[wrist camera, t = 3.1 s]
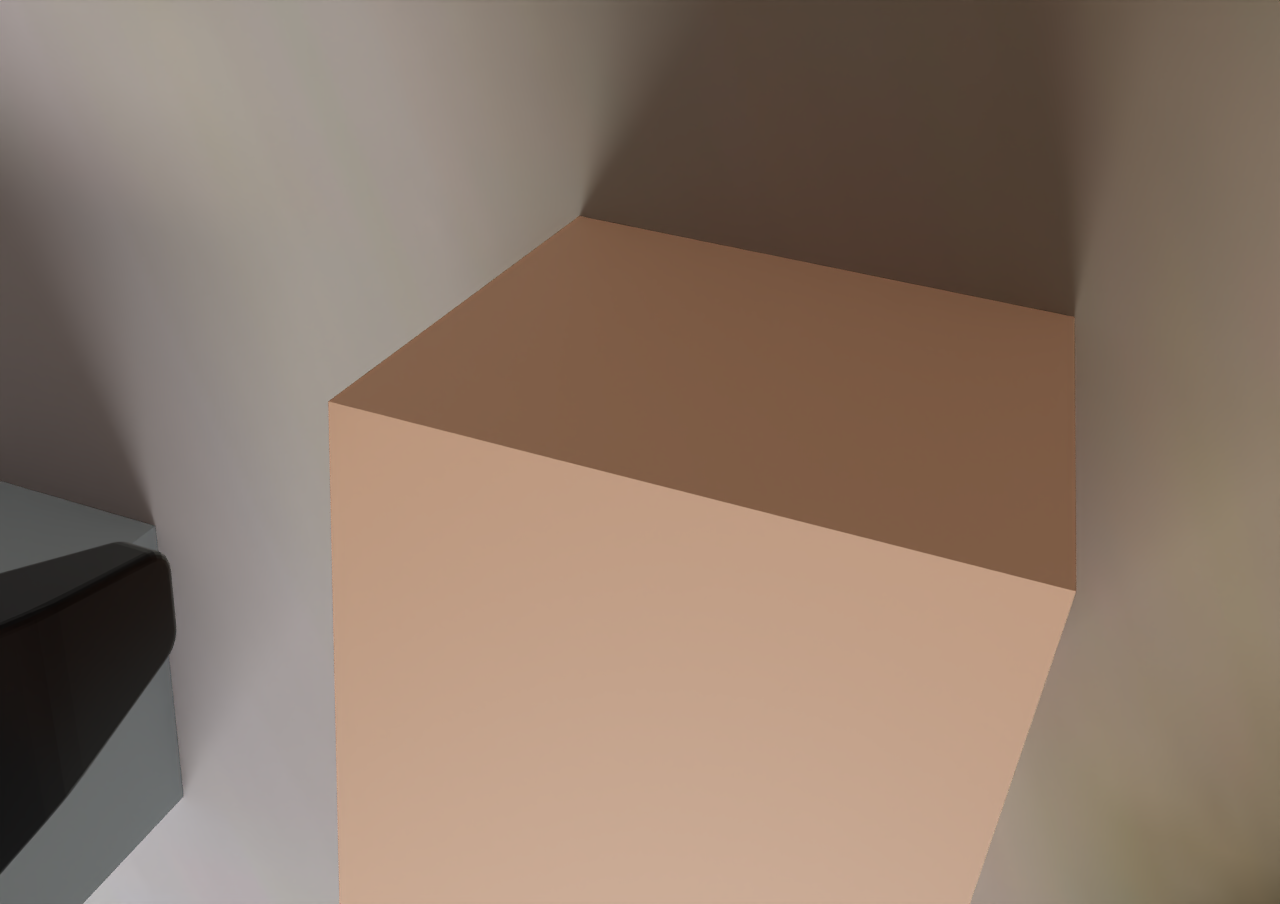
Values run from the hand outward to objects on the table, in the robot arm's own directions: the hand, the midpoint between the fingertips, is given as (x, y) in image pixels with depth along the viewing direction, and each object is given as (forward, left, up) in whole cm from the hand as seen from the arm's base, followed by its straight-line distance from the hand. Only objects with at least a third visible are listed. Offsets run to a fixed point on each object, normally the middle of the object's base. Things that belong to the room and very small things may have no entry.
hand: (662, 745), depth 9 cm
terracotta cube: (0, 0, -4) cm, 5 cm away
